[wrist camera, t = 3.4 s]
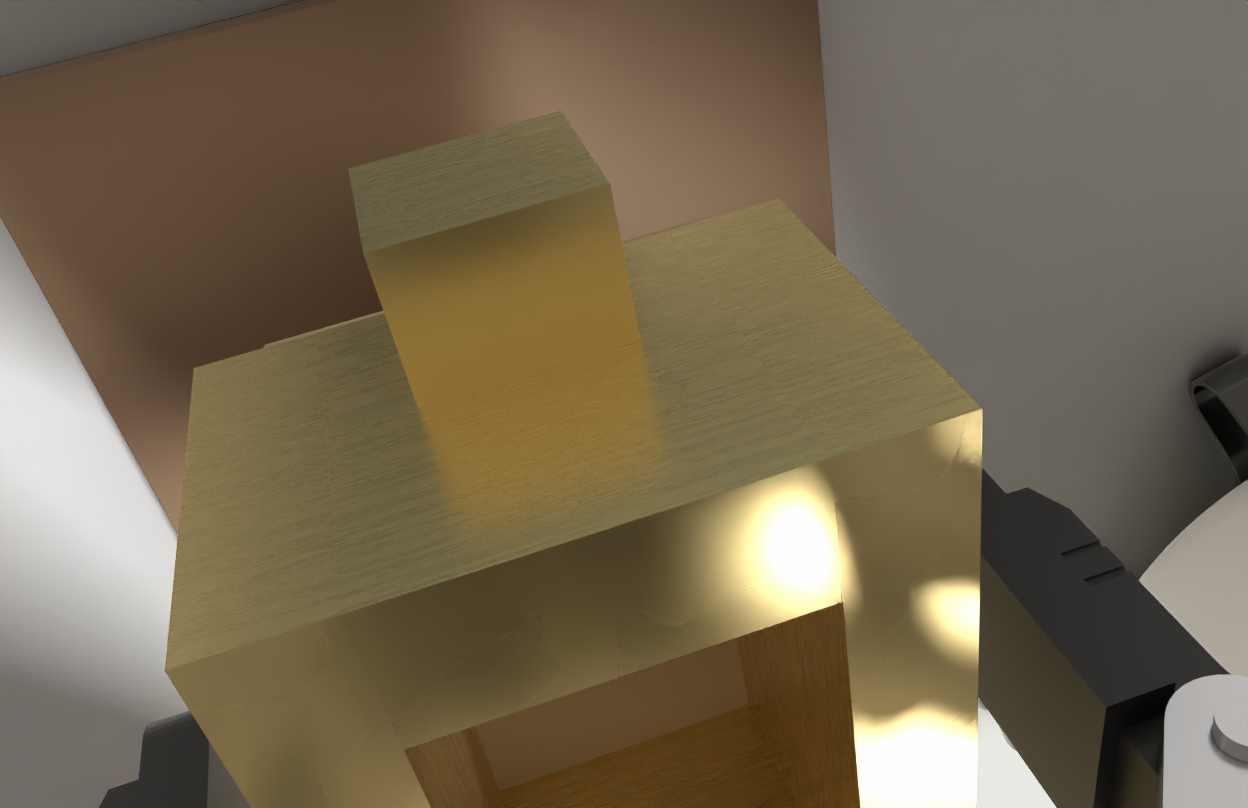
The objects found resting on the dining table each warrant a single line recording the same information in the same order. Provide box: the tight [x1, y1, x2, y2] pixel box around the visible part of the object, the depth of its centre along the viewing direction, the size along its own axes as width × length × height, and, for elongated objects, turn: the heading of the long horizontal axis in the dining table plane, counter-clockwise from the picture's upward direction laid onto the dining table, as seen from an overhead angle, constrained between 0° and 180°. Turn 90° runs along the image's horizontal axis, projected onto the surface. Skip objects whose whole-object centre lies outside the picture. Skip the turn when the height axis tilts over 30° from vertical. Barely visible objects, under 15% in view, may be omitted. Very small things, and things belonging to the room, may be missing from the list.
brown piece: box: [0, 0, 836, 790], centre depth 16 cm, size 12×12×6 cm
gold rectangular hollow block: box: [165, 111, 983, 808], centre depth 12 cm, size 10×6×4 cm, turn 11°
